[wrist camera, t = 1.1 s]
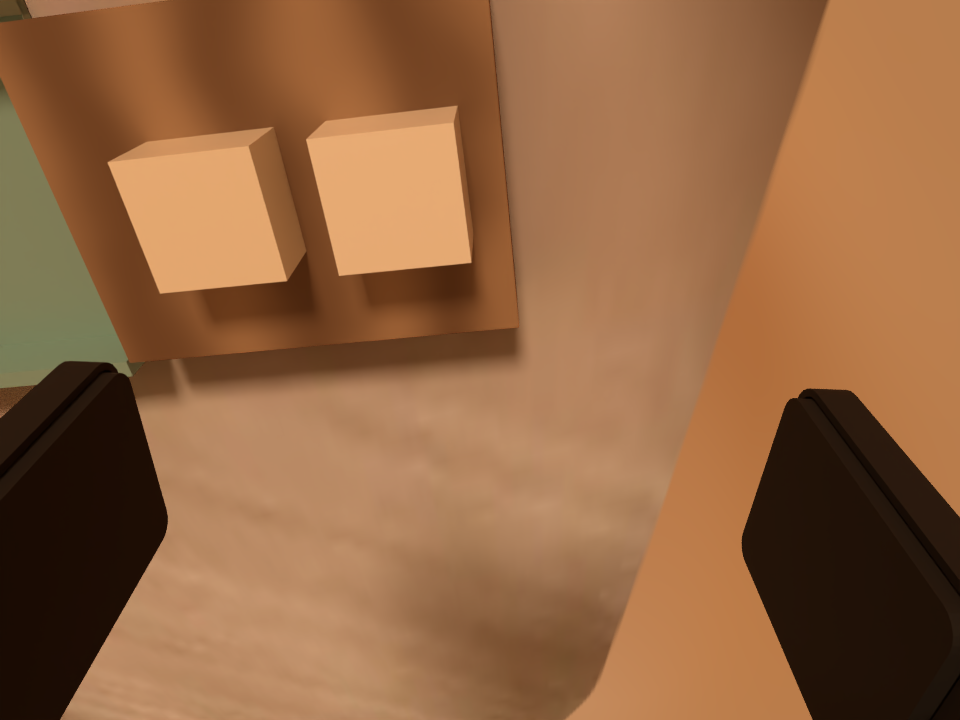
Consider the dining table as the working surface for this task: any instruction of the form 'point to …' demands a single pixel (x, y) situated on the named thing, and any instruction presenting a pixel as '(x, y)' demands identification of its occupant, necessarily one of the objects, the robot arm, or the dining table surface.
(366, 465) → the dining table surface
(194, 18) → the board
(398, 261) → the tile
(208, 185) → the tile
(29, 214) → the tray
